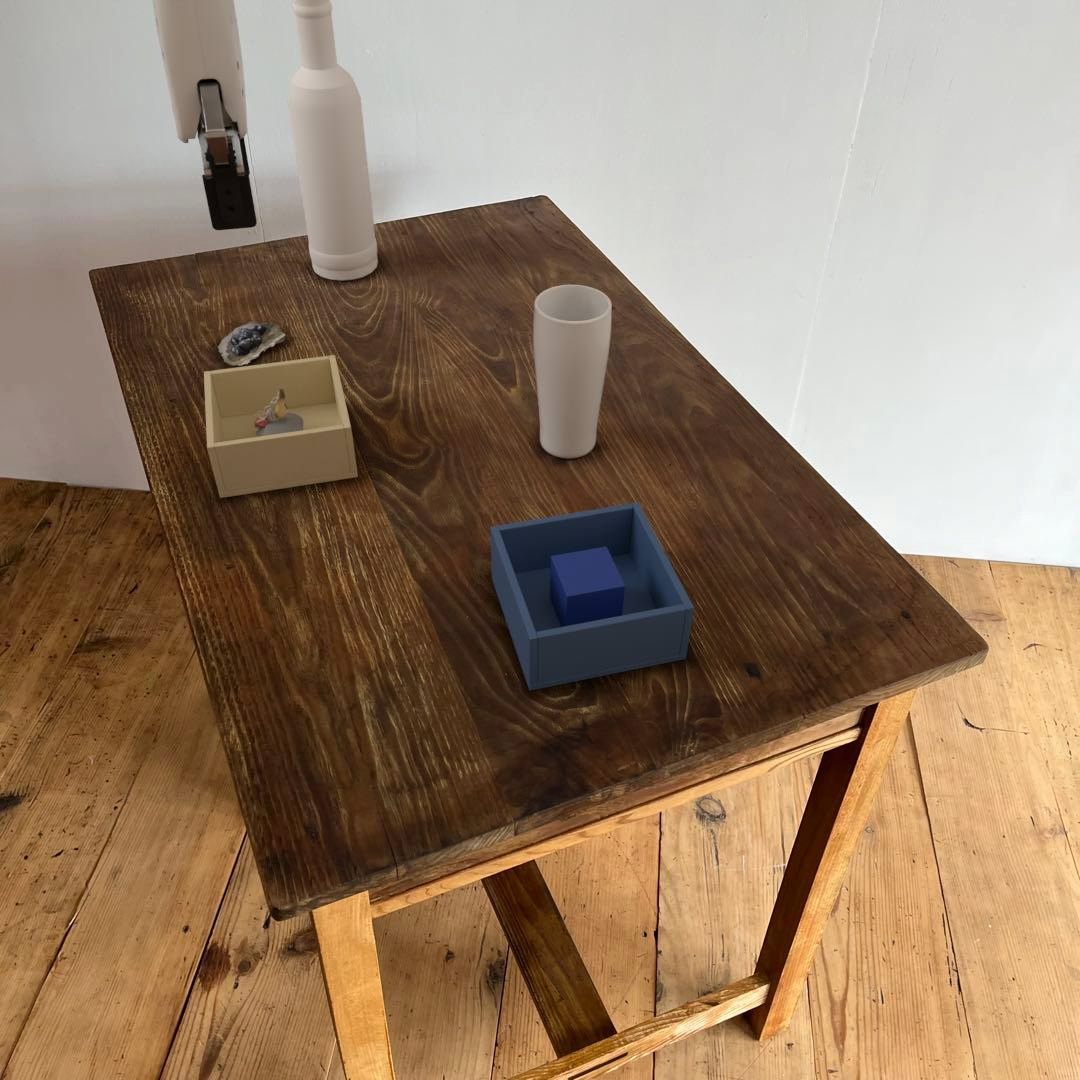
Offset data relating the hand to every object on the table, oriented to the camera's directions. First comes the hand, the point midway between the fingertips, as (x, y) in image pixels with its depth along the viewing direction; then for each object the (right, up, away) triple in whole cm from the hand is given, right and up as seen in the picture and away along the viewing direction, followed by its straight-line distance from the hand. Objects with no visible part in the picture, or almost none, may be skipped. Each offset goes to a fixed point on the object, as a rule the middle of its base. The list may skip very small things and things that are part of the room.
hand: (232, 201), depth 79 cm
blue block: (+27, -32, 0) cm, 42 cm away
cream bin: (0, -18, +16) cm, 24 cm away
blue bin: (+27, -32, +1) cm, 42 cm away
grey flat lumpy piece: (-7, -6, +30) cm, 31 cm away
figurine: (0, -18, +16) cm, 24 cm away
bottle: (0, +7, +44) cm, 44 cm away
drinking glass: (+27, -17, +18) cm, 36 cm away
